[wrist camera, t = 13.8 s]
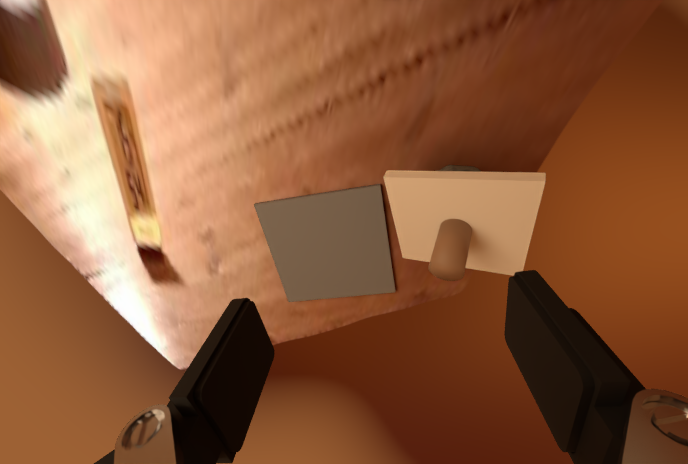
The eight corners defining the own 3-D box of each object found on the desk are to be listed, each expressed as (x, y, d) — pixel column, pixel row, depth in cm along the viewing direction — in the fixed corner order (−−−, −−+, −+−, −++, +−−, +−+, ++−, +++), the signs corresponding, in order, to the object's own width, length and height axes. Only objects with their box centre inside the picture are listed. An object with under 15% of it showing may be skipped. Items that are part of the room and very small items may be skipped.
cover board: (386, 170, 33) (364, 215, 29) (545, 172, 26) (545, 232, 22) (405, 251, 43) (390, 292, 39) (521, 268, 36) (518, 321, 32)
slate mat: (255, 203, 46) (253, 204, 46) (380, 183, 43) (380, 185, 42) (289, 299, 55) (288, 301, 54) (395, 289, 52) (395, 292, 51)
